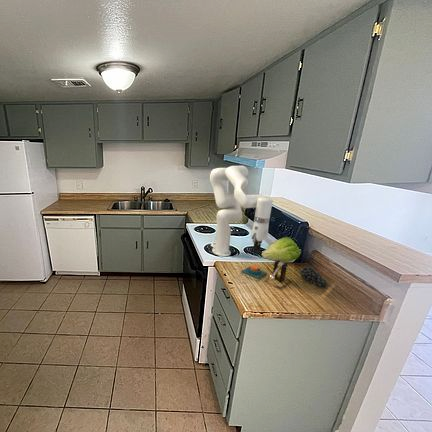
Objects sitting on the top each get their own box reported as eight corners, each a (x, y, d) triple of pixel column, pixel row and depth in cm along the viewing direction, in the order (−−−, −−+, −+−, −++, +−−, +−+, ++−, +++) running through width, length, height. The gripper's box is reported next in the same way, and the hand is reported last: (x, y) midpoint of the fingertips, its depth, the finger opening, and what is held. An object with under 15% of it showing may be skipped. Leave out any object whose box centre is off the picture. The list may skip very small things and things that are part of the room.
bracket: (281, 288, 128) (285, 268, 124) (264, 281, 134) (267, 262, 131) (290, 281, 135) (294, 262, 132) (274, 275, 142) (277, 256, 138)
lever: (273, 283, 127) (273, 279, 125) (267, 280, 129) (267, 276, 127) (285, 266, 132) (284, 262, 130) (278, 264, 134) (278, 260, 133)
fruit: (333, 275, 123) (308, 261, 137) (319, 281, 123) (296, 267, 137) (333, 288, 126) (309, 274, 140) (320, 294, 126) (297, 279, 140)
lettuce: (269, 270, 154) (258, 261, 170) (308, 260, 152) (294, 251, 168) (264, 249, 152) (254, 241, 167) (304, 238, 150) (290, 231, 165)
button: (249, 269, 140) (249, 266, 140) (252, 267, 143) (253, 264, 142) (255, 272, 137) (256, 269, 137) (259, 269, 140) (259, 267, 139)
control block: (240, 274, 142) (241, 268, 141) (249, 269, 148) (250, 263, 147) (257, 281, 134) (258, 275, 133) (266, 275, 140) (267, 269, 139)
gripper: (261, 224, 125) (256, 256, 131) (274, 219, 134) (269, 249, 140) (248, 220, 131) (243, 251, 136) (261, 215, 140) (256, 244, 145)
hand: (256, 250), depth 138 cm, fingers closed
